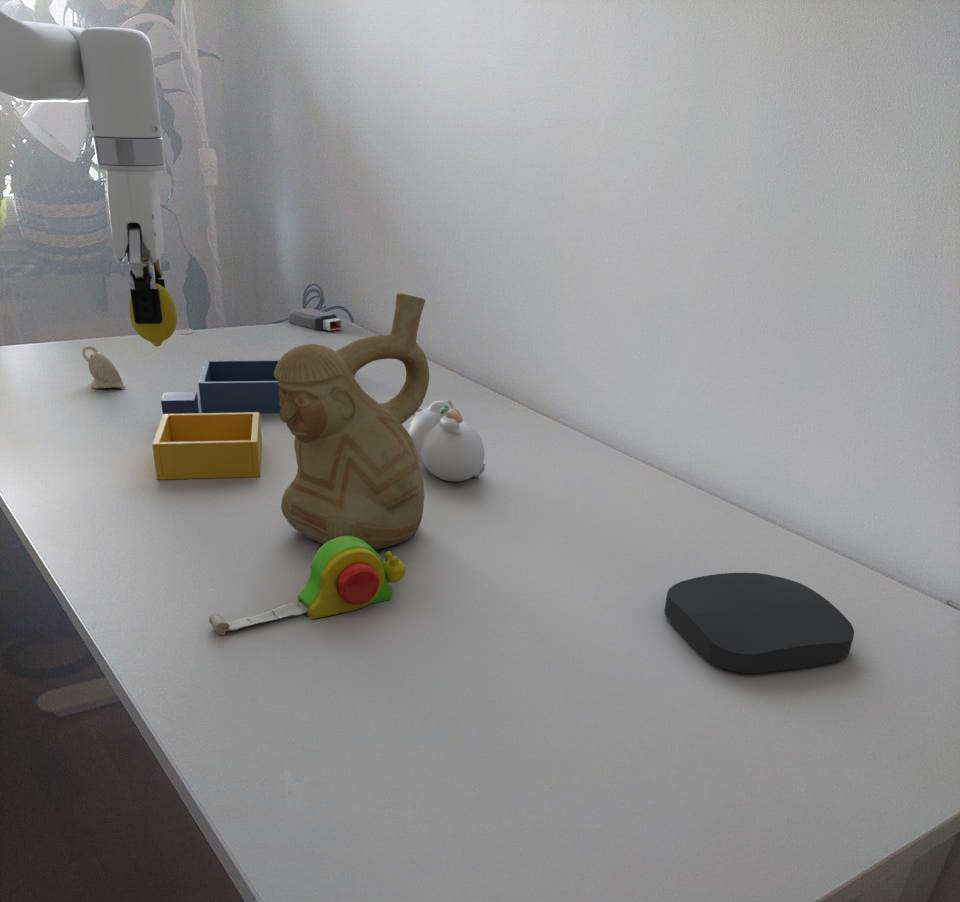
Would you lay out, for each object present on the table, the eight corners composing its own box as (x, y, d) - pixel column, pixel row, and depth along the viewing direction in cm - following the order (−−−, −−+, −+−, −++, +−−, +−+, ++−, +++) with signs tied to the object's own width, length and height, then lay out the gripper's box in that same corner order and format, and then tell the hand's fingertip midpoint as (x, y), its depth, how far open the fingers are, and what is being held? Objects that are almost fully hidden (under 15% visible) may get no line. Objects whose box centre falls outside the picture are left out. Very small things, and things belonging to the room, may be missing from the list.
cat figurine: (482, 417, 116) (427, 372, 127) (429, 457, 116) (378, 408, 126) (510, 473, 123) (455, 426, 133) (460, 510, 123) (409, 460, 133)
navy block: (165, 432, 137) (160, 400, 134) (168, 422, 140) (164, 391, 138) (197, 431, 137) (194, 400, 135) (200, 421, 141) (196, 391, 139)
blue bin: (201, 413, 145) (198, 383, 142) (207, 388, 156) (204, 360, 154) (294, 412, 147) (292, 382, 145) (293, 387, 158) (291, 359, 156)
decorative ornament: (100, 392, 152) (95, 358, 150) (83, 380, 158) (77, 347, 155) (126, 389, 154) (121, 355, 152) (108, 377, 160) (103, 344, 157)
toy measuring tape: (419, 603, 94) (419, 542, 91) (222, 648, 86) (215, 582, 82) (391, 577, 99) (390, 518, 96) (202, 617, 90) (194, 553, 87)
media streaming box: (722, 682, 84) (727, 652, 82) (650, 605, 96) (654, 577, 94) (866, 662, 87) (874, 633, 86) (779, 590, 100) (785, 564, 98)
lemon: (125, 345, 121) (116, 278, 117) (165, 339, 125) (157, 274, 121) (149, 353, 118) (140, 284, 114) (188, 347, 122) (181, 280, 118)
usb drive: (308, 319, 204) (308, 305, 202) (345, 329, 197) (345, 315, 195) (288, 322, 200) (288, 308, 199) (325, 332, 193) (325, 318, 192)
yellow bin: (157, 479, 121) (152, 444, 118) (167, 447, 131) (162, 413, 129) (260, 476, 123) (257, 441, 120) (262, 444, 133) (259, 412, 131)
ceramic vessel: (245, 532, 108) (223, 298, 95) (380, 490, 120) (376, 278, 107) (340, 583, 97) (329, 329, 85) (477, 532, 110) (485, 303, 97)
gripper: (107, 149, 117) (129, 304, 127) (82, 159, 103) (109, 333, 112) (171, 150, 119) (189, 304, 128) (156, 161, 104) (176, 333, 113)
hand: (151, 316), depth 120 cm, fingers closed on lemon, 5 cm apart
